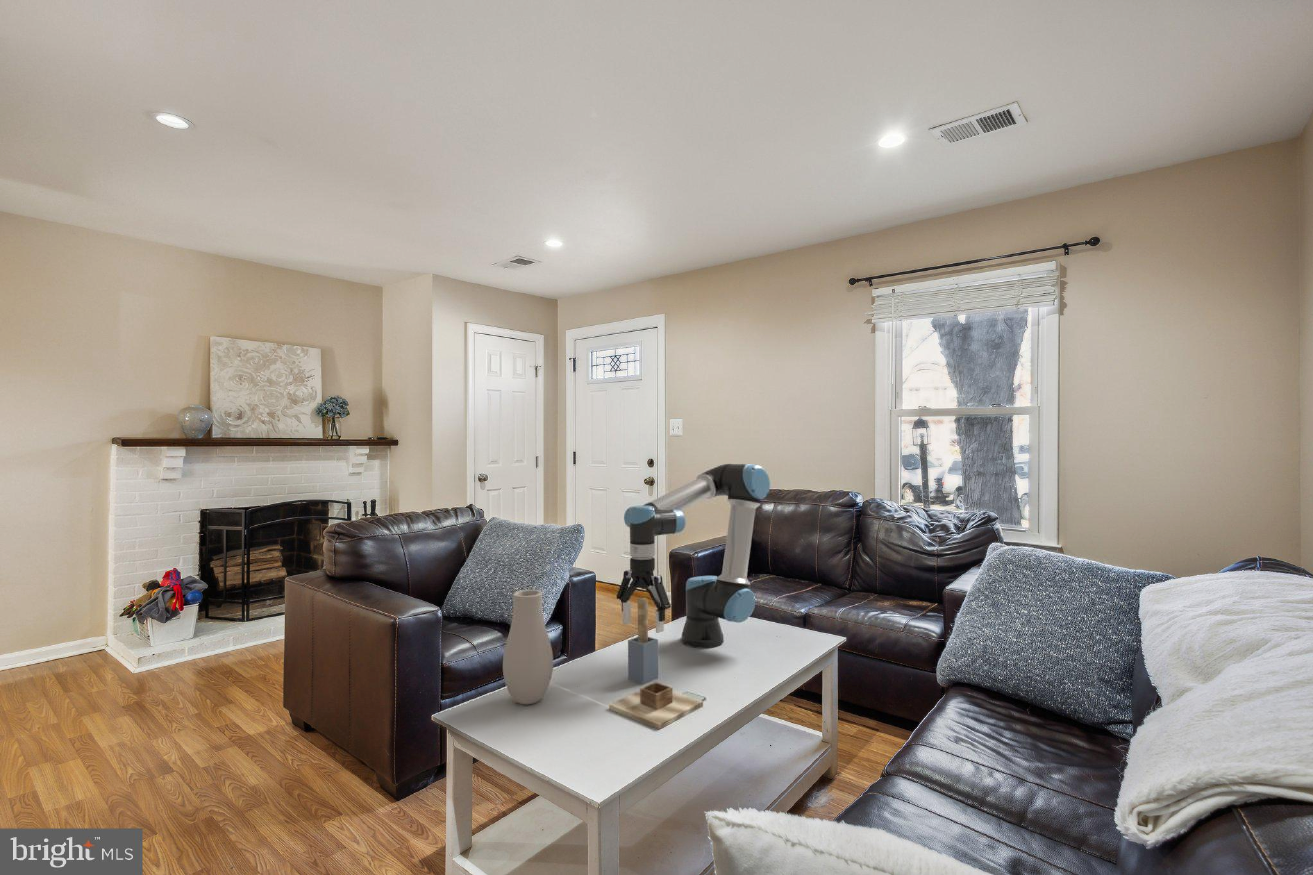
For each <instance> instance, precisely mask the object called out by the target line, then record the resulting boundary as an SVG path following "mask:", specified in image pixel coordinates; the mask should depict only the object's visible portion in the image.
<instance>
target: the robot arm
mask: <svg viewBox="0 0 1313 875" xmlns="http://www.w3.org/2000/svg"><path fill="white" fill-rule="evenodd" d="M768 474H769V473H767V471H766V469H764V467H763V466H761V465H757V464H750V463H747V464H746V463H744V464H743V463H742V464H741V463H737V464H736V463H735V464H734V463H725V464H722V465H721V464H720V465H717V466H716V467H713V468H711V469H708V470H706V471H704V472H702V473H700V474H698V475H697V477H696V479H693V480H692V481H689V482H688V483H686V484H684V485H682V486H680V487H677V488H675V489H674V490H672V491H669V492H668V493H665V494H663V495H661V496H659V497H658V498H655V499H654V500H651V501H649V502H647V503H644V504H643V505H634V506H629V507H628V508H627V509H626V510H625V512H624V516H623V520H624V523H625V525H626V527H628V528H629V556H630V558H629V569H628V570H627V569H626V570H624V571H623V577H622V580H621V583H620V586H619V587H618V588H619V589H618V591H617V594H616V597H615V598H616V599H617V600H619V601H620V602H621V612H622V624H623V625H627V624H630V623H632V614H631V612H632V611H631V610H632V609H631V608H632V606H631V604H632V602H631V600H630V599H631V597H632V595H633V594H634V592H635V591H636V590H637V589H642V590H645V591H646V592H647V593H648V594H649V597H650V598H651V600H652V602H653V604H654V605H655V607H656V610H655V634H659V633H661V632H664V630H665V627H664V626H665V625H664V624H665V620H666V610H668V609H671V603H670V599H669V597H668V594H667V592H666V589H665V585H664V582H663V576H662V575H661V574H659V575H655V574H654V571H655V570H656V568H655V567H656V562H655V560H656V559H655V557H654V556H655V555H656V552H655V551H656V550H655V549H656V548H655V545H656V544H655V543H656V542H655V541H656V538H655V537H657V536H665V535H674V534H678V533H681V532H682V531H683V530H684V529H685V528H686V524H687V521H686V516H685V514H684V512H683V510H686V509H687V508H690V507H692V506H693V505H695V504H697V503H699V502H702V500H704V499H707V500H710V499H713V498H715V497H720V496H726V497H727V501H728V503H729V504H730V511H729V512H730V513H729V518H728V525H727V526H728V528H727V533H726V540H725V541H726V542H725V547H724V556H723V561H722V562H723V564H722V571H721V574H720V575H718V576H717V575H702V576H701V575H699V576H695V577H690V578H688V579H687V581H686V582H685V617H686V618H685V623H684V625H683V627H682V628H683V629H682V633H681V642H682V644H684V645H685V646H688V647H693V648H697V649H698V648H703V649H709V648H714V647H715V648H716V647H718V646H720V645H723V644H724V641H725V640H724V638H725V637H724V636H725V635H724V633H723V630H722V627H721V623H720V621H719V619H722V620H725V621H727V622H732V623H743V622H745V621H747V620H748V618H749V617H751V616H752V614H753V612H754V611H755V607H756V606H755V605H756V597H755V594H754V592H753V591H752V590H751V589H750V588H751V583H750V581H749V580H748V577H747V576H748V571H749V569H748V568H749V561H750V555H751V547H752V539H753V530H754V522H755V516H756V509H757V508H758V507H760V506H761V505H762V504H761V503H762V499H764V498H766V497H767V495H768V494H769V492H770V489H771V482H770V477H769V475H768Z"/></svg>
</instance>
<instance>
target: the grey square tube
mask: <svg viewBox="0 0 1313 875" xmlns="http://www.w3.org/2000/svg"><path fill="white" fill-rule="evenodd" d="M627 660H628V662H627V664H628V665H627V673H628V674H627V675H628V676H627V677H628V680H630V681H632V682H635V683H639V684H640V685H646V684H648V683H650V682H653V681H655V680H657V679H659V639H658V638H654V637H651V636H648V642H646V643H644V644H643V643H640V642H638V636H636V637H633V638H631V639H629V640H627Z"/></svg>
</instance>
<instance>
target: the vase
mask: <svg viewBox="0 0 1313 875" xmlns="http://www.w3.org/2000/svg"><path fill="white" fill-rule="evenodd" d="M512 601H513V602H512V603H513V612H512V620H511V625H510V628H509V633H508V636H507V639H506V643H505V648H504V651H503V657H502V672H503V673H502V674H503V679H504V684H505V686H506V689H507V691H508V693H509V695H510V697H511V698H512V699H513V701H514V702H516V703H517V704H520V705H532V704H536V703H538V702H540V700H542V699H543V698H544V696H545V694H546V693H547V691H548V689H549V686H550V683H551V679H552V676H553V671H554V654H553V649H552V644H551V641H550V637H549V634H548V633H549V632H548V630H547V627H546V624H545V619H544V614H543V592H542V590H538V589H525V590H524V589H523V590H518V591H515V592H513V594H512Z"/></svg>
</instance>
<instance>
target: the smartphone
mask: <svg viewBox="0 0 1313 875" xmlns="http://www.w3.org/2000/svg"><path fill="white" fill-rule="evenodd" d="M681 694H683V695H686V696H689V697H691V698H694V699H697V700H700V701H703V702H705V701H706V700H707V698H706V696H703V695H699V694H696V693H692V692H689V691H684V692H682V693H681Z"/></svg>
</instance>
